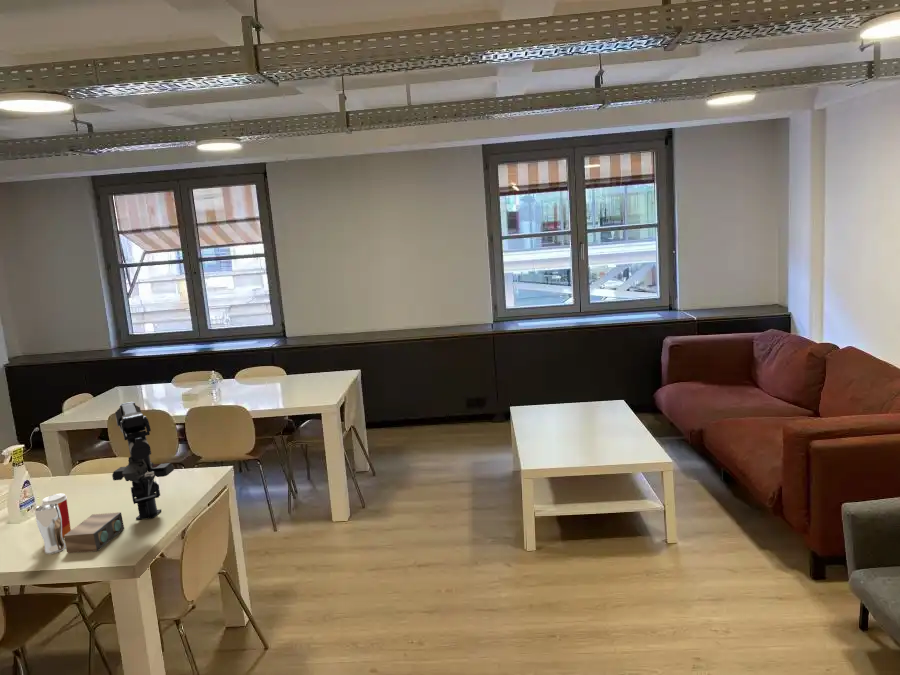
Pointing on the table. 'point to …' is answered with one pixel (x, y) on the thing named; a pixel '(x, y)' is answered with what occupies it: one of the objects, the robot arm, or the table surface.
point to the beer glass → (50, 527)
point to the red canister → (62, 504)
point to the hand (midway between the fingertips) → (147, 495)
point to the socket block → (92, 533)
